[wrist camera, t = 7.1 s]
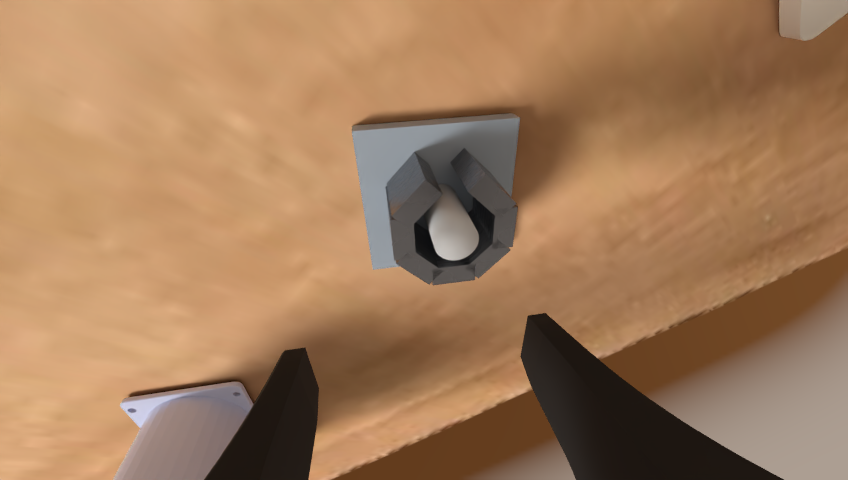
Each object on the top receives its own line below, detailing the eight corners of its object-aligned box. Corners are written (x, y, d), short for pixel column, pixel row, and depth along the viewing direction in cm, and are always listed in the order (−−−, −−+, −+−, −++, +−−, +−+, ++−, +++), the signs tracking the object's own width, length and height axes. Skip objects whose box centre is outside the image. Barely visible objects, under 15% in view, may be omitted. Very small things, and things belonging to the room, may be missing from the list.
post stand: (499, 244, 22) (532, 297, 17) (372, 259, 21) (375, 319, 17) (512, 113, 17) (560, 142, 13) (352, 125, 16) (348, 161, 12)
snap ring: (487, 238, 20) (508, 275, 17) (392, 249, 19) (397, 289, 16) (495, 145, 17) (522, 170, 14) (382, 154, 16) (386, 183, 13)
